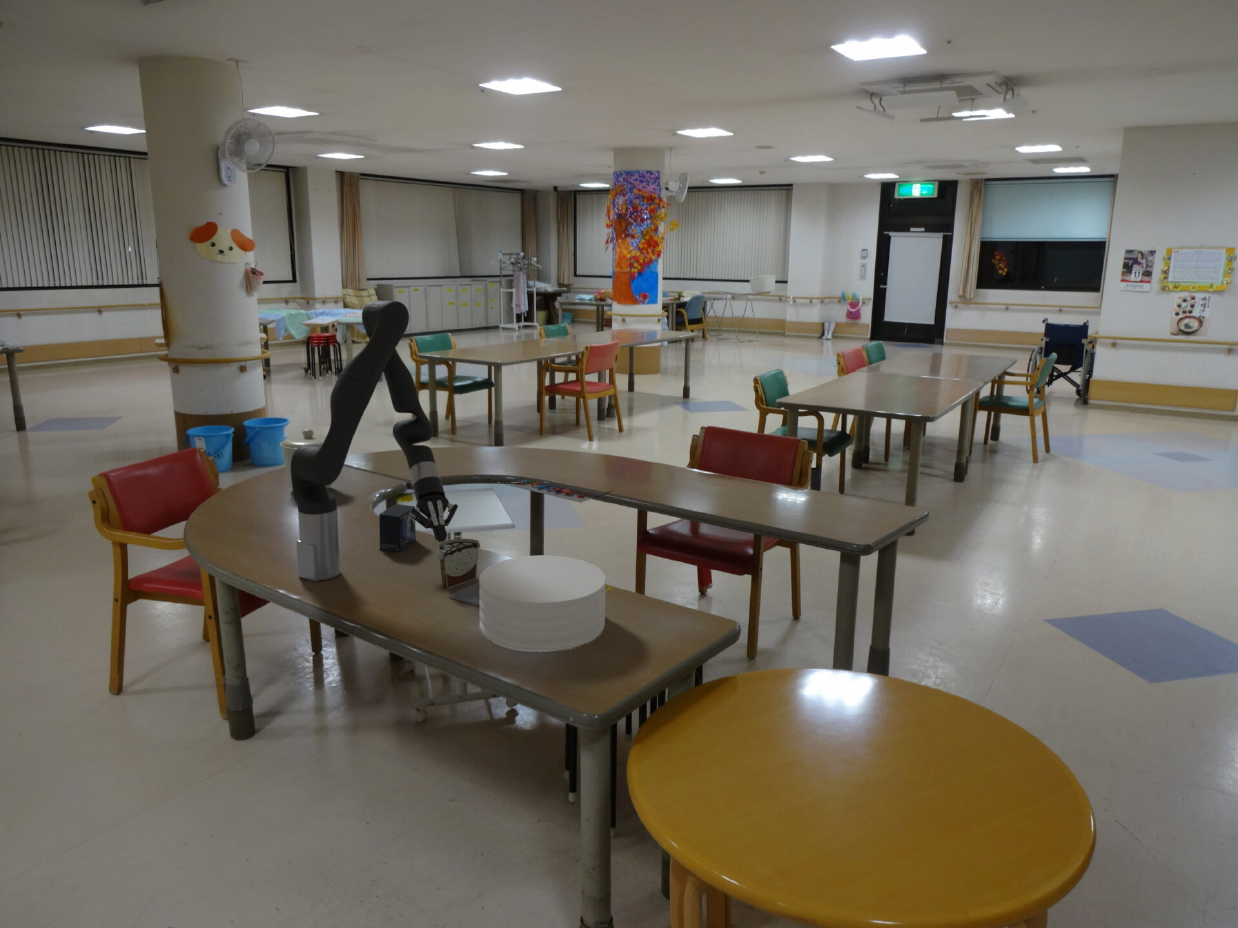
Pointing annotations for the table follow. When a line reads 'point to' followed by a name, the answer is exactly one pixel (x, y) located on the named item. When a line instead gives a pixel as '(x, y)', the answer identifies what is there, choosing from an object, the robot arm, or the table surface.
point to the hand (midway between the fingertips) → (442, 540)
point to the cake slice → (458, 561)
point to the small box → (396, 528)
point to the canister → (294, 443)
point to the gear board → (551, 491)
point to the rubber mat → (468, 595)
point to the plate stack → (542, 602)
